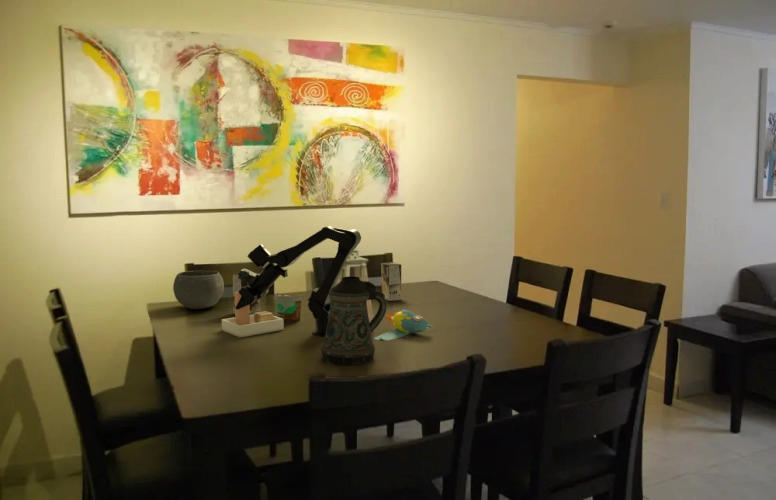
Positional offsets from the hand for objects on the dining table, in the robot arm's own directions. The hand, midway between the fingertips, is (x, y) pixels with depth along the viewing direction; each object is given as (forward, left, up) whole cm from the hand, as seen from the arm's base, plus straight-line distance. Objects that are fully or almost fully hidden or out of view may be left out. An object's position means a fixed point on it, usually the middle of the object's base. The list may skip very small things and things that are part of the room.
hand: (238, 307), depth 231 cm
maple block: (-3, -8, -8) cm, 12 cm away
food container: (+3, -21, -9) cm, 23 cm away
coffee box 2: (+10, -80, -9) cm, 81 cm away
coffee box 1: (+25, -16, -9) cm, 31 cm away
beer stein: (-54, -11, -9) cm, 56 cm away
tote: (-3, -4, -8) cm, 10 cm away
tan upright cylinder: (-1, -1, -7) cm, 7 cm away
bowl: (+47, -5, -9) cm, 48 cm away
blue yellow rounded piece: (-42, -44, -9) cm, 61 cm away
